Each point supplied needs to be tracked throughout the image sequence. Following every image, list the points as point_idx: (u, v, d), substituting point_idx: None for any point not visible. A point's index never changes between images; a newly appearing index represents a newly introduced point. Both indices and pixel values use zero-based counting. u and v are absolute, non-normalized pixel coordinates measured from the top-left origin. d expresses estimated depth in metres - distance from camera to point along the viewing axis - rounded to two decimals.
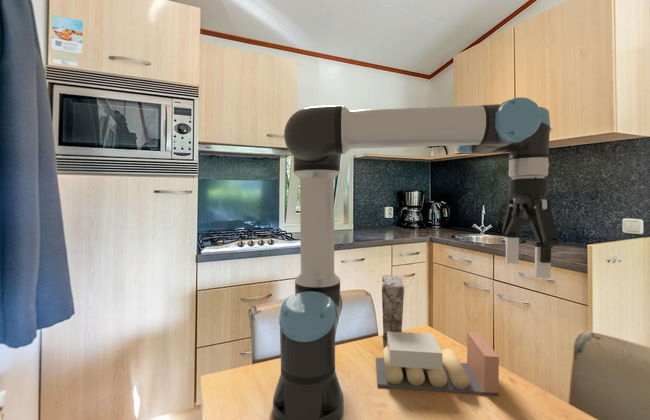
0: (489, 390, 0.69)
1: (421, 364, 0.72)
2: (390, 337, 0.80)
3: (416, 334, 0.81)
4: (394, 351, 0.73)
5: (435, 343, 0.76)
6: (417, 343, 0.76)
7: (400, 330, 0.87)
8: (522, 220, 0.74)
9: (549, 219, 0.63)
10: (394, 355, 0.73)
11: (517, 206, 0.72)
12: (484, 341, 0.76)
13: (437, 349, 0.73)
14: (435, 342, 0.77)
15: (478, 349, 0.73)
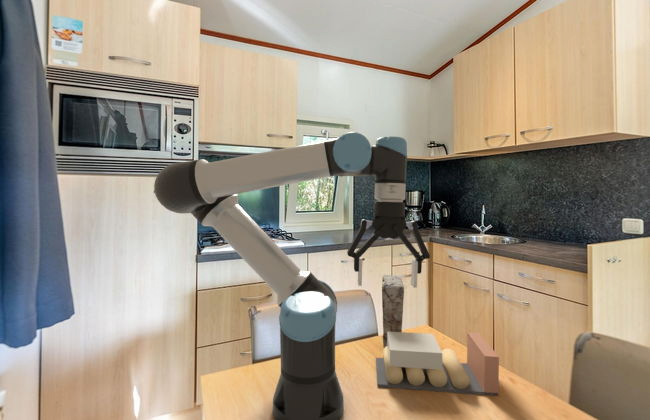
0: (489, 390, 0.69)
1: (421, 364, 0.72)
2: (390, 337, 0.80)
3: (416, 334, 0.81)
4: (394, 351, 0.73)
5: (435, 343, 0.76)
6: (417, 343, 0.76)
7: (400, 330, 0.87)
8: (403, 241, 0.76)
9: (356, 235, 0.76)
10: (394, 355, 0.73)
11: None
12: (484, 341, 0.76)
13: (437, 349, 0.73)
14: (435, 342, 0.77)
15: (478, 349, 0.73)
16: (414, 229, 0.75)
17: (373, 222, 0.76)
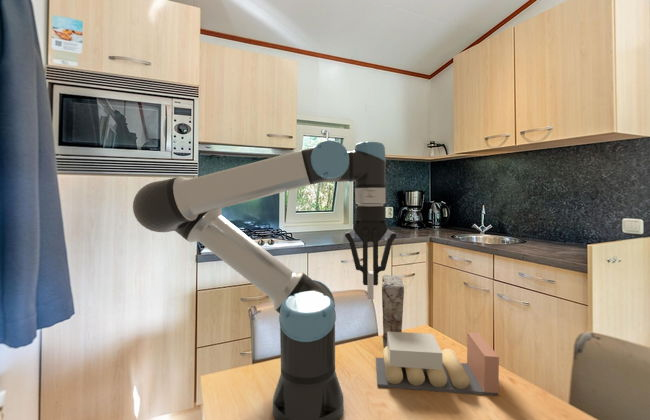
0: (489, 390, 0.69)
1: (421, 364, 0.72)
2: (390, 337, 0.80)
3: (416, 334, 0.81)
4: (394, 351, 0.73)
5: (435, 343, 0.76)
6: (417, 343, 0.76)
7: (400, 330, 0.87)
8: (373, 247, 0.77)
9: (351, 249, 0.78)
10: (394, 355, 0.73)
11: None
12: (484, 341, 0.76)
13: (437, 349, 0.73)
14: (435, 342, 0.77)
15: (478, 349, 0.73)
16: (389, 239, 0.76)
17: (354, 229, 0.77)
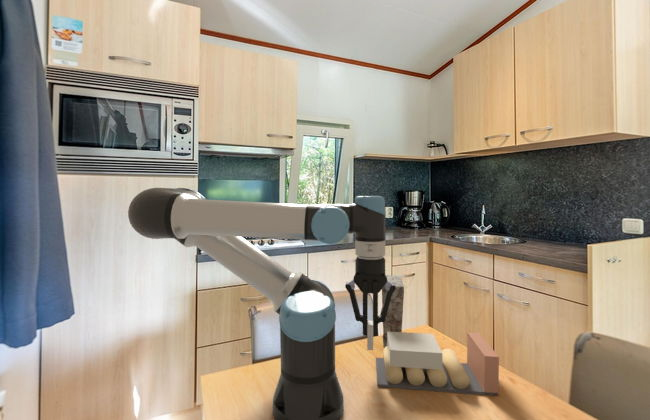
0: (489, 390, 0.69)
1: (421, 364, 0.72)
2: (390, 337, 0.80)
3: (416, 334, 0.81)
4: (394, 351, 0.73)
5: (435, 343, 0.76)
6: (417, 343, 0.76)
7: (400, 330, 0.87)
8: (373, 299, 0.77)
9: (351, 300, 0.78)
10: (394, 355, 0.73)
11: None
12: (484, 341, 0.76)
13: (437, 349, 0.73)
14: (435, 342, 0.77)
15: (478, 349, 0.73)
16: (389, 291, 0.76)
17: (354, 280, 0.78)
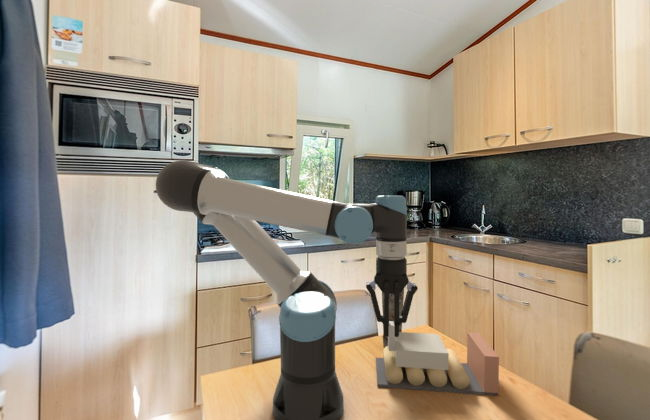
0: (489, 390, 0.69)
1: (427, 364, 0.72)
2: (395, 337, 0.79)
3: (421, 334, 0.81)
4: (400, 352, 0.73)
5: (441, 343, 0.76)
6: (423, 343, 0.76)
7: (400, 330, 0.87)
8: (394, 299, 0.77)
9: (372, 300, 0.78)
10: (400, 355, 0.73)
11: None
12: (484, 341, 0.76)
13: (443, 350, 0.73)
14: (441, 342, 0.76)
15: (478, 349, 0.73)
16: (410, 292, 0.76)
17: (375, 281, 0.77)
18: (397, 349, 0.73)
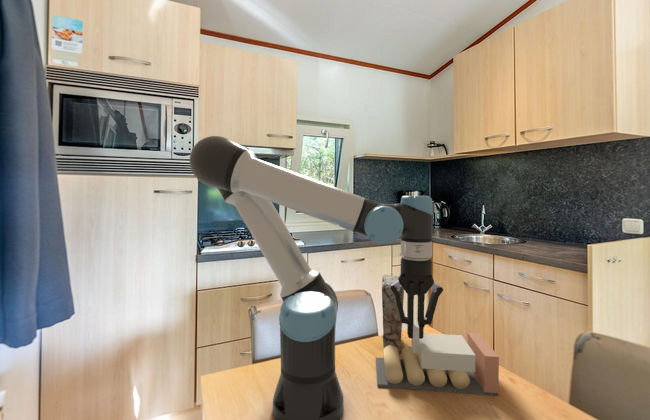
0: (489, 390, 0.69)
1: (453, 366, 0.71)
2: None
3: (445, 335, 0.80)
4: (425, 353, 0.72)
5: (466, 345, 0.75)
6: (447, 344, 0.75)
7: (400, 330, 0.87)
8: (418, 300, 0.76)
9: (396, 302, 0.77)
10: (425, 357, 0.72)
11: None
12: (484, 341, 0.76)
13: (470, 351, 0.72)
14: (466, 344, 0.76)
15: (478, 349, 0.73)
16: (436, 293, 0.75)
17: (400, 282, 0.76)
18: (423, 351, 0.72)
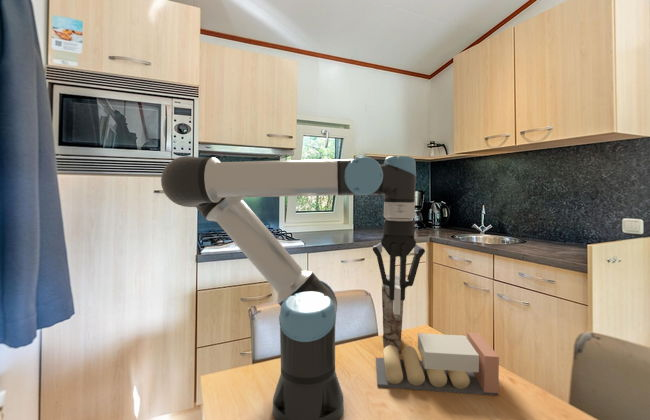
0: (489, 390, 0.69)
1: (457, 366, 0.71)
2: (422, 339, 0.78)
3: (448, 336, 0.80)
4: (429, 354, 0.72)
5: (469, 345, 0.75)
6: (451, 345, 0.75)
7: (400, 330, 0.87)
8: (400, 262, 0.76)
9: (378, 263, 0.77)
10: (429, 357, 0.72)
11: None
12: (484, 341, 0.76)
13: (473, 352, 0.72)
14: (469, 344, 0.75)
15: (478, 349, 0.73)
16: (418, 255, 0.75)
17: (382, 243, 0.76)
18: (426, 351, 0.72)
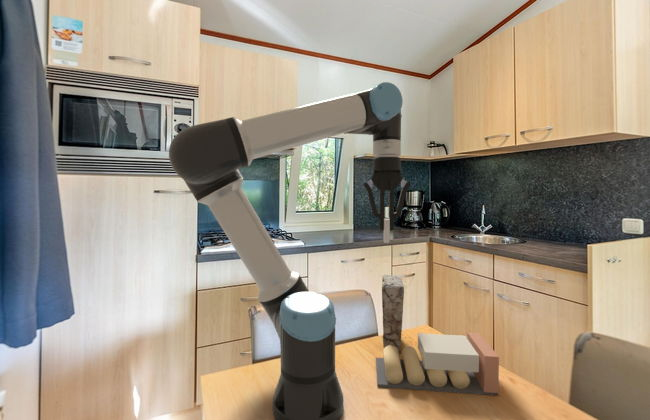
0: (489, 390, 0.69)
1: (457, 366, 0.71)
2: (422, 339, 0.78)
3: (448, 336, 0.80)
4: (429, 354, 0.72)
5: (469, 345, 0.75)
6: (451, 345, 0.75)
7: (400, 330, 0.87)
8: (389, 196, 0.84)
9: (369, 198, 0.85)
10: (429, 357, 0.72)
11: None
12: (484, 341, 0.76)
13: (473, 352, 0.72)
14: (469, 344, 0.75)
15: (478, 349, 0.73)
16: (404, 188, 0.83)
17: (372, 179, 0.85)
18: (426, 351, 0.72)
